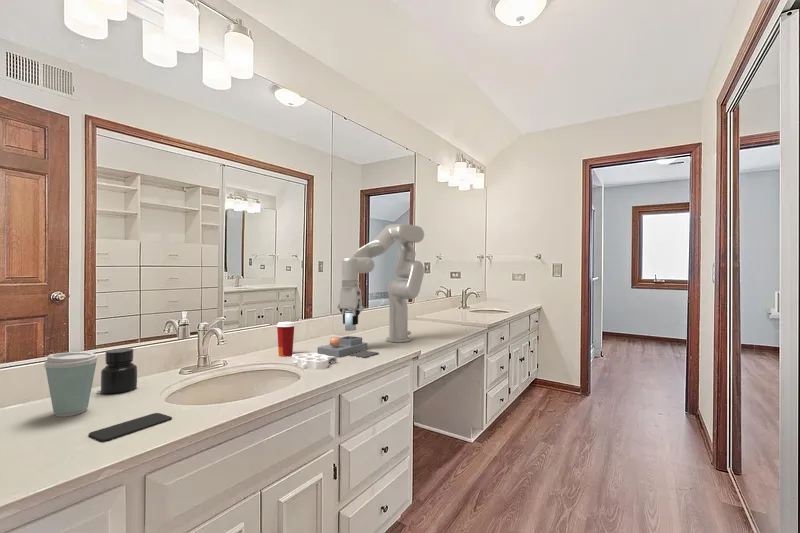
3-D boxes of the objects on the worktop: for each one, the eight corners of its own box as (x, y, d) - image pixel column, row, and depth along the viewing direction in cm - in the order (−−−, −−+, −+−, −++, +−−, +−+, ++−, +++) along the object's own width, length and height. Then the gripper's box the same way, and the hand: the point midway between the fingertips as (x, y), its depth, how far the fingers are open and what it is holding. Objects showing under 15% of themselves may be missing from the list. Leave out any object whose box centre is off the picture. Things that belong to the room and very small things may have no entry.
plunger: (334, 351, 171) (334, 336, 171) (342, 352, 169) (342, 337, 169) (327, 353, 167) (327, 338, 167) (335, 354, 165) (335, 339, 165)
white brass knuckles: (342, 365, 150) (313, 372, 139) (312, 358, 161) (282, 365, 150) (342, 356, 150) (313, 363, 139) (312, 350, 161) (282, 356, 150)
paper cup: (297, 353, 168) (297, 321, 168) (290, 357, 161) (291, 324, 161) (280, 353, 169) (280, 321, 169) (272, 357, 161) (273, 323, 162)
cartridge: (349, 328, 180) (349, 309, 180) (358, 329, 178) (358, 310, 178) (342, 330, 176) (342, 310, 176) (351, 331, 173) (351, 311, 173)
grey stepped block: (347, 346, 184) (347, 335, 184) (367, 349, 178) (367, 337, 178) (317, 354, 167) (317, 341, 167) (338, 357, 161) (338, 344, 161)
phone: (174, 417, 94) (103, 440, 81) (174, 420, 94) (103, 444, 81) (156, 412, 98) (86, 433, 84) (156, 415, 98) (86, 437, 84)
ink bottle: (141, 384, 122) (142, 346, 123) (134, 392, 114) (134, 352, 114) (104, 387, 119) (105, 348, 119) (94, 396, 111) (94, 354, 111)
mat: (364, 351, 173) (364, 350, 173) (378, 353, 168) (378, 352, 168) (349, 355, 164) (350, 354, 164) (365, 358, 160) (365, 356, 160)
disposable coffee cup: (92, 402, 106) (92, 347, 106) (103, 411, 99) (104, 353, 99) (39, 413, 97) (40, 353, 97) (47, 424, 90) (48, 360, 91)
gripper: (369, 284, 175) (370, 324, 175) (341, 283, 184) (341, 321, 184) (359, 285, 169) (360, 326, 169) (330, 284, 178) (330, 323, 178)
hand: (350, 323), depth 177 cm, fingers closed on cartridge, 5 cm apart
